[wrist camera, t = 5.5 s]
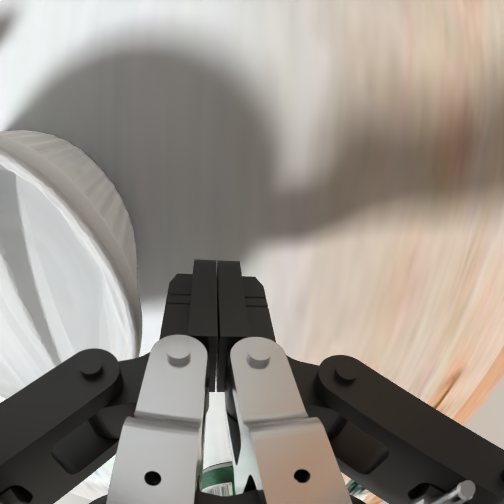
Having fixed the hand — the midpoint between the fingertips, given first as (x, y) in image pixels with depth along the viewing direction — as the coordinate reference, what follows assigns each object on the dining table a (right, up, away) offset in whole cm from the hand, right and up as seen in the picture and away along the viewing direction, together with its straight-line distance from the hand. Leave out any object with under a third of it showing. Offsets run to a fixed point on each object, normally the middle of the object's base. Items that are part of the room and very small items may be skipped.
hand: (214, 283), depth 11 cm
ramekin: (-8, +2, +1) cm, 8 cm away
